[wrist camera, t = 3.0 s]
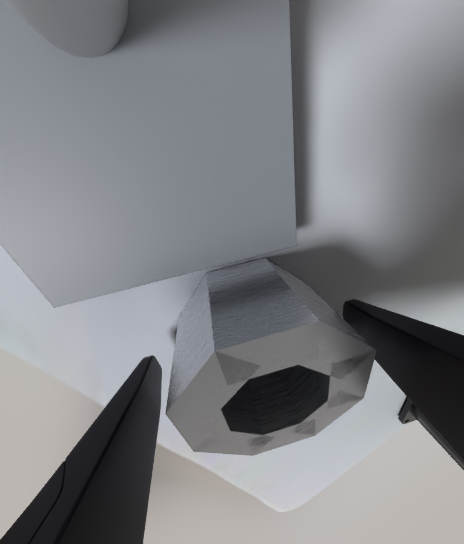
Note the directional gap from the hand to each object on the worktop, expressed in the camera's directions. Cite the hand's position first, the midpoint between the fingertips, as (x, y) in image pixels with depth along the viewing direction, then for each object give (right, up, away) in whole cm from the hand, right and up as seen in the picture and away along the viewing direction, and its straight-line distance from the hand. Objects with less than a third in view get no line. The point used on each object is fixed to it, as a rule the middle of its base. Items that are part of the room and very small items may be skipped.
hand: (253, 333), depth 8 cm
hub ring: (0, 0, +1) cm, 1 cm away
